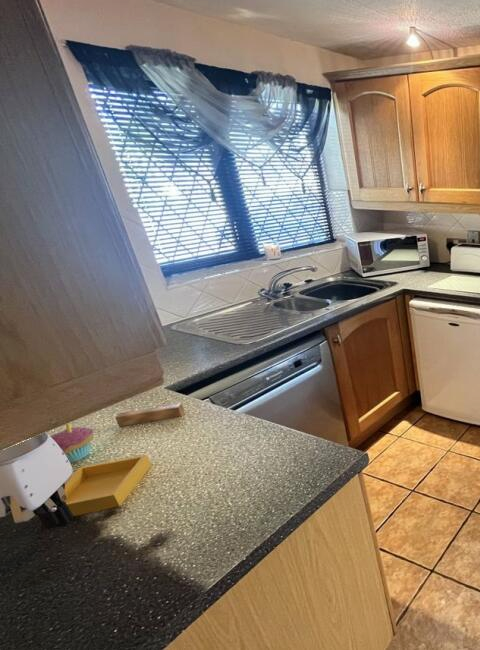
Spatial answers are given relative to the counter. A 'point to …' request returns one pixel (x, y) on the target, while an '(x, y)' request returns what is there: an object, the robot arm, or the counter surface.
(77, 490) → the tray
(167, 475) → the counter surface
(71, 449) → the cupcake
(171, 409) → the rail
